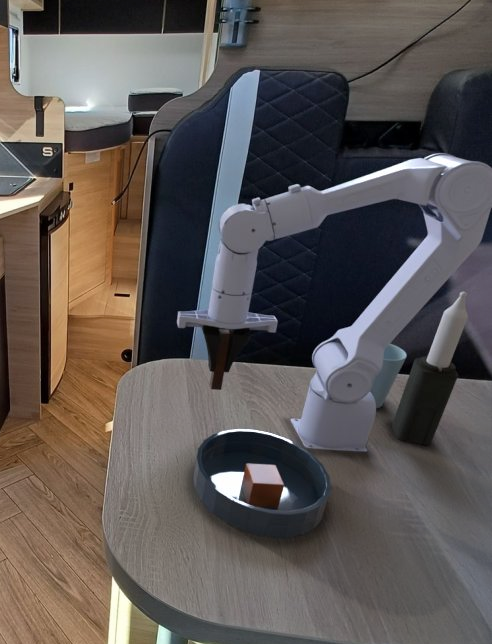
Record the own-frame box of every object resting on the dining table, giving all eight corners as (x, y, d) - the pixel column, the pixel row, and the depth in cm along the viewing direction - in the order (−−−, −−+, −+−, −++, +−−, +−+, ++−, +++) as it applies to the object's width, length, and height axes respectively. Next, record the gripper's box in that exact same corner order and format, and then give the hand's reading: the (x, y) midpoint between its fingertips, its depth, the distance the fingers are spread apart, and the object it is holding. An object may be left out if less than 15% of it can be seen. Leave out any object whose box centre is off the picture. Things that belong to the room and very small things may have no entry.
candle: (424, 429, 86) (478, 288, 75) (432, 447, 82) (491, 300, 71) (390, 422, 88) (438, 283, 77) (396, 440, 83) (449, 295, 72)
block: (270, 487, 72) (275, 464, 70) (278, 508, 69) (284, 485, 67) (241, 485, 72) (245, 463, 71) (247, 506, 69) (253, 483, 67)
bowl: (298, 456, 79) (304, 432, 77) (343, 545, 64) (353, 518, 62) (185, 449, 80) (188, 426, 78) (203, 536, 65) (208, 509, 63)
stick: (219, 384, 85) (228, 329, 80) (221, 390, 83) (230, 334, 79) (209, 384, 85) (218, 329, 80) (211, 389, 83) (220, 333, 79)
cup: (358, 385, 99) (373, 336, 94) (398, 405, 93) (416, 353, 88) (333, 395, 95) (347, 345, 91) (372, 416, 89) (390, 364, 85)
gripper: (274, 281, 79) (258, 359, 85) (179, 277, 80) (170, 354, 86) (288, 298, 73) (270, 381, 79) (184, 294, 74) (174, 376, 80)
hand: (218, 369), depth 82 cm, fingers closed on stick, 1 cm apart
